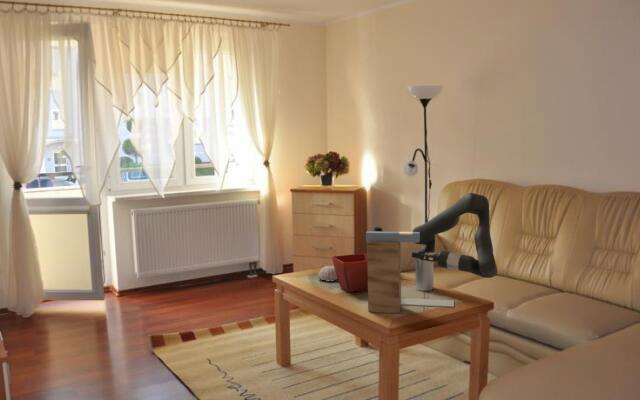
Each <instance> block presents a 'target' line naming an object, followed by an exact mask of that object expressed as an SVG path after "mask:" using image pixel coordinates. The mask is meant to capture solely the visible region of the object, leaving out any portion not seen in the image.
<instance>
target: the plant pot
mask: <svg viewBox="0 0 640 400" xmlns="http://www.w3.org/2000/svg"><path fill="white" fill-rule="evenodd" d="M331 258H332V264H333V266H334V268H335V272H336V276H337V279H338V280H337V282H338V285H339V287H340V288H341V287H342V288H343V289H342V288H341V289H342V290H344V289H345V290H346V291H345V290H344V291H345V292H347V291H348V292H347V293H355V292H354V291H358V292H364V291H365V292H366V291H368V264H367V254H366V253H355V254H354V253H353V254H352V253H351V254H344V255H333V256H331Z"/></svg>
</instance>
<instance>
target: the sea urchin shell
mask: <svg viewBox="0 0 640 400" xmlns="http://www.w3.org/2000/svg"><path fill="white" fill-rule="evenodd" d="M317 278H318V279H319V280H320V279H321V280H320V281H322V280H336V281H338V280H337V276H336V272H335V268H334V265H326V266H324V267H322V268H321V269H320V271H319V272H318V274H317Z"/></svg>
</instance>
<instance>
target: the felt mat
mask: <svg viewBox="0 0 640 400" xmlns="http://www.w3.org/2000/svg"><path fill="white" fill-rule="evenodd" d="M401 306H415V307H416V306H418V307H437V308H439V307H441V308H454V307H455V300H453V299H451V300H450V299H428V298H427V299H425V298H409V297H408V298H407V297H406V298H405V297H404V298H403V297H401Z"/></svg>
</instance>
